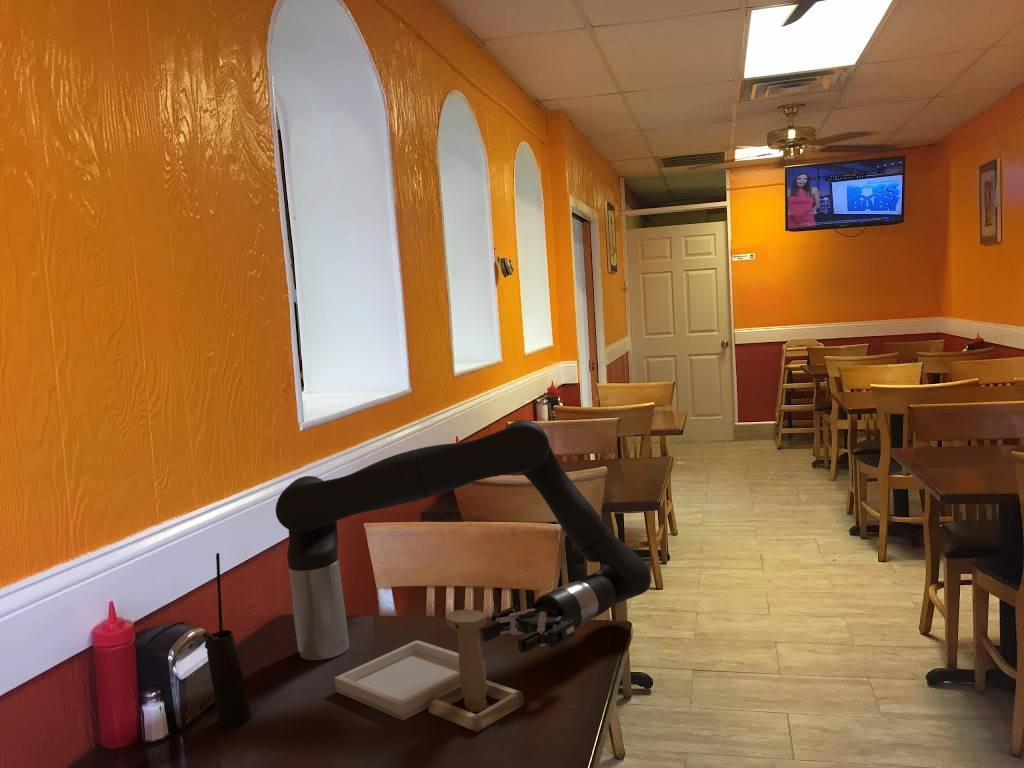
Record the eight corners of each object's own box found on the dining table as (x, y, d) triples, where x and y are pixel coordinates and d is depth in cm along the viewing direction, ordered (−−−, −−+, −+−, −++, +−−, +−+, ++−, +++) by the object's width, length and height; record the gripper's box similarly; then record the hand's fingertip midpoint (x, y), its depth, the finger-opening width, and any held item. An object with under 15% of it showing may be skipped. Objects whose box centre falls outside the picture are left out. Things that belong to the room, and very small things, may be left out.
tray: (336, 691, 146) (334, 677, 145) (418, 653, 158) (417, 639, 158) (403, 720, 133) (401, 705, 133) (486, 676, 146) (484, 661, 146)
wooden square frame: (429, 712, 135) (427, 700, 135) (475, 687, 142) (474, 675, 142) (477, 732, 127) (475, 719, 127) (523, 704, 134) (522, 692, 134)
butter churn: (185, 729, 138) (160, 558, 135) (232, 702, 146) (210, 541, 143) (223, 739, 133) (198, 563, 130) (270, 711, 141) (248, 544, 138)
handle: (484, 719, 131) (473, 624, 129) (450, 711, 134) (439, 618, 133) (501, 705, 135) (491, 612, 133) (468, 698, 138) (458, 607, 137)
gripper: (534, 581, 155) (468, 610, 143) (596, 594, 145) (531, 627, 133) (538, 621, 155) (473, 653, 144) (600, 637, 145) (535, 673, 134)
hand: (501, 641), depth 139 cm, fingers open, 8 cm apart
